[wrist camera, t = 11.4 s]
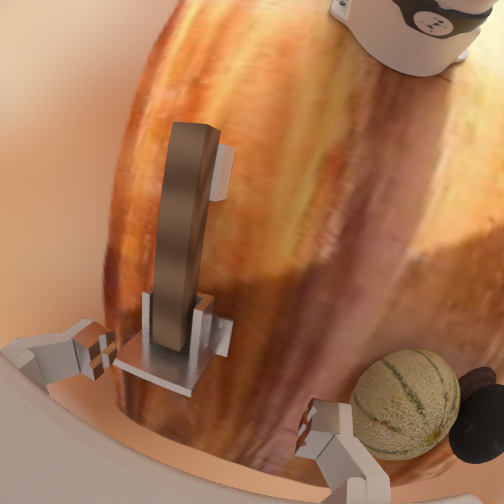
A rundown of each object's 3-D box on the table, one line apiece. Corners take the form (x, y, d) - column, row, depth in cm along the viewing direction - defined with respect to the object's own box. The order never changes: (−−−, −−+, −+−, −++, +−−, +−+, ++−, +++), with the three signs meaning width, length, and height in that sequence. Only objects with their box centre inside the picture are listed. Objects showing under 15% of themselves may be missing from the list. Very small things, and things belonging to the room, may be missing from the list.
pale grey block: (195, 143, 32) (181, 139, 28) (235, 148, 31) (225, 144, 27) (188, 191, 33) (172, 193, 30) (226, 198, 33) (215, 201, 29)
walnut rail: (190, 127, 27) (173, 121, 23) (221, 130, 27) (207, 124, 23) (167, 326, 34) (152, 341, 30) (192, 334, 34) (179, 351, 30)
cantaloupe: (324, 386, 36) (322, 470, 22) (391, 309, 32) (427, 386, 17) (394, 416, 36) (407, 488, 21) (456, 352, 31) (496, 419, 17)
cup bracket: (155, 268, 37) (100, 302, 26) (239, 291, 35) (206, 342, 24) (153, 328, 40) (108, 372, 29) (228, 353, 38) (198, 411, 27)
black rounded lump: (454, 365, 31) (489, 433, 17) (508, 357, 29) (547, 410, 15) (426, 422, 35) (444, 487, 21) (480, 412, 32) (504, 466, 18)
